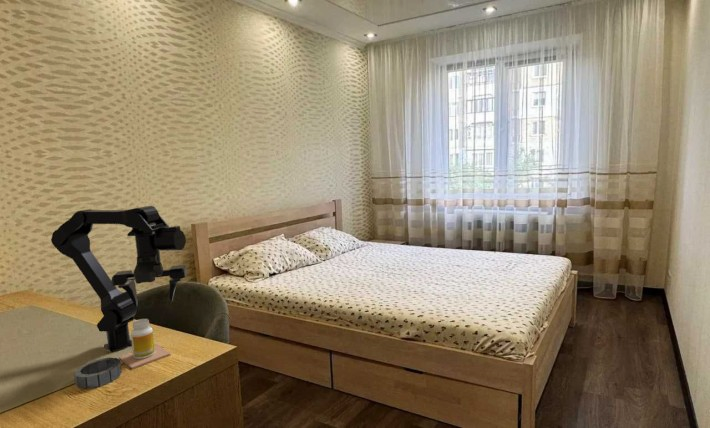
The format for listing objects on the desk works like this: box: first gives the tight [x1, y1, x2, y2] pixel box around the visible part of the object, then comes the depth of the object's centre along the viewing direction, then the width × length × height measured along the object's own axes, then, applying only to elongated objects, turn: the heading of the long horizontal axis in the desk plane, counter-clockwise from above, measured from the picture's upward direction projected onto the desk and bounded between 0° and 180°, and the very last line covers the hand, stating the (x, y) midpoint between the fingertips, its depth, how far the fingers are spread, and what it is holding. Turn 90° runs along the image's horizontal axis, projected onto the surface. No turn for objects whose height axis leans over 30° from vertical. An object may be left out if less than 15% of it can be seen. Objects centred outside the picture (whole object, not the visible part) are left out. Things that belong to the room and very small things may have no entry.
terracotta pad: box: [118, 343, 172, 370], centre depth 113 cm, size 10×10×1 cm
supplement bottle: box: [130, 318, 155, 359], centre depth 113 cm, size 5×5×10 cm
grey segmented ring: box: [73, 357, 123, 390], centre depth 102 cm, size 10×10×3 cm
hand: (154, 303), depth 118 cm, fingers open, 9 cm apart
